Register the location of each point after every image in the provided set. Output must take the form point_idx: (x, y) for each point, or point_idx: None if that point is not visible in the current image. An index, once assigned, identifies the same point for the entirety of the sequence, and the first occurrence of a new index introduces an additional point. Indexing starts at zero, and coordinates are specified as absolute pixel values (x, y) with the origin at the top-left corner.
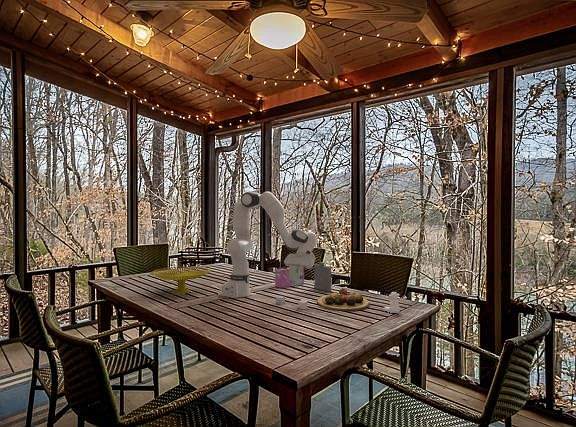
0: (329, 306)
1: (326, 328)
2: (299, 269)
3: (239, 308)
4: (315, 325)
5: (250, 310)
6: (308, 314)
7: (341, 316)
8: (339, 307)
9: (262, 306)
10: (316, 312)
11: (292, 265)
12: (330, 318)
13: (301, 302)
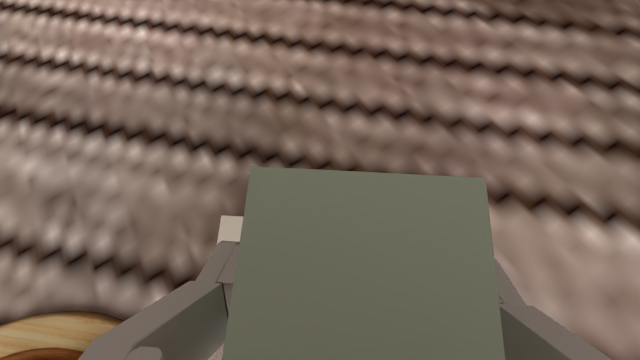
0: (81, 326)
1: (46, 50)
2: (194, 286)
3: (525, 49)
4: (96, 54)
5: (456, 55)
6: (174, 157)
7: (3, 223)
8: (12, 342)
9: (463, 136)
10: (147, 210)
11: (476, 337)
12: (53, 163)
13: (240, 216)
